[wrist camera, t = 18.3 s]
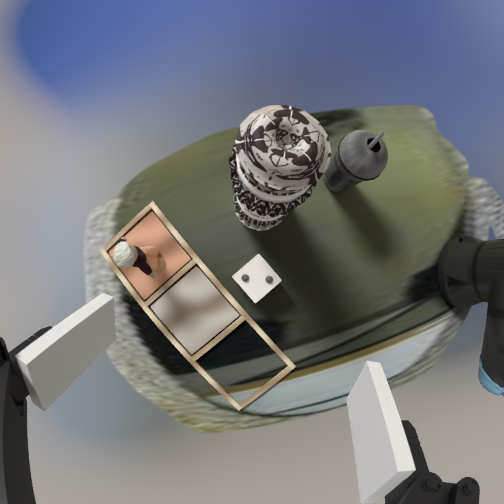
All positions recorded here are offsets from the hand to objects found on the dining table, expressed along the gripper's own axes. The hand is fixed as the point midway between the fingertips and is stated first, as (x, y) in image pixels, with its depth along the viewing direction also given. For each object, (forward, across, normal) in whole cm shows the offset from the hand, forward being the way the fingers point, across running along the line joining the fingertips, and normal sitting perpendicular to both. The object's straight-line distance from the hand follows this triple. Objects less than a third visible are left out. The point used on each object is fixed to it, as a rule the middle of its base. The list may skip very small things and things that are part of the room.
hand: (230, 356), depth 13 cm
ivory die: (+31, -1, -8) cm, 32 cm away
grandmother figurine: (+29, -18, -8) cm, 35 cm away
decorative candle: (+35, -3, +3) cm, 35 cm away
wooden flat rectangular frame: (+27, -10, -14) cm, 32 cm away
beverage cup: (+39, +8, +10) cm, 41 cm away
